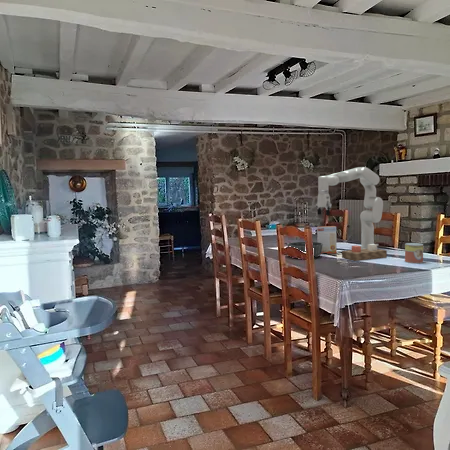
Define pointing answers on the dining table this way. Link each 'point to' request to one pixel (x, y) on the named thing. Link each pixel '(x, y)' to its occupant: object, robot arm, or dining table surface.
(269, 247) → the dining table surface
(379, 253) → the block
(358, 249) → the salmon pink cube
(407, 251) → the canned food
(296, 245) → the bundt pan
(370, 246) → the ivory cube
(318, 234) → the cracker box
